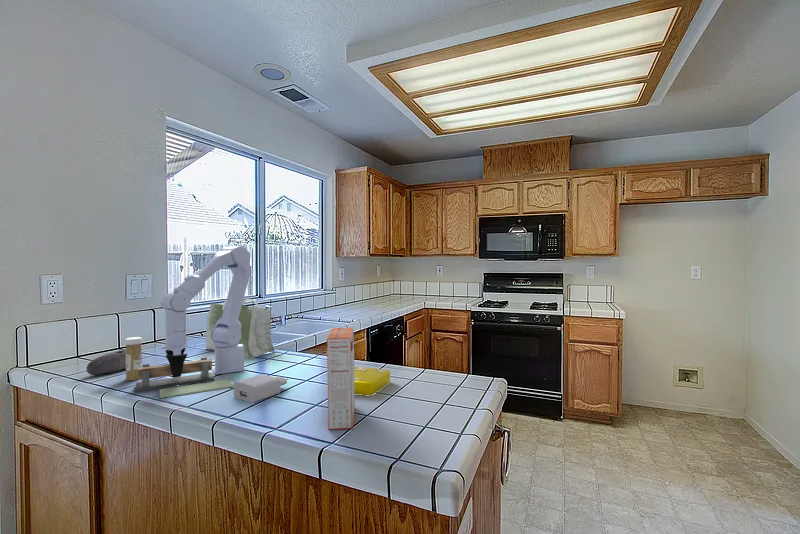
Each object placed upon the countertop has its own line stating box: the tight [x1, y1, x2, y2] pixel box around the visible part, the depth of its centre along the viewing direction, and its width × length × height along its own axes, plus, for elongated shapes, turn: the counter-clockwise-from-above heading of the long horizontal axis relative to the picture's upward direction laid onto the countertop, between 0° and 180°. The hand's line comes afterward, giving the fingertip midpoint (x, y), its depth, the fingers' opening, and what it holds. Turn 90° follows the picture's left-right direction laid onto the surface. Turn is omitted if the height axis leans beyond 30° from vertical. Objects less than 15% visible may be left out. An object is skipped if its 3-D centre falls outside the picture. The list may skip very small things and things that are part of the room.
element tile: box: [354, 365, 391, 395], centre depth 117 cm, size 15×15×5 cm
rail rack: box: [134, 356, 215, 393], centre depth 121 cm, size 21×7×6 cm, turn 123°
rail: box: [137, 358, 213, 381], centre depth 121 cm, size 20×3×3 cm, turn 123°
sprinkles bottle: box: [124, 336, 143, 382], centre depth 126 cm, size 5×5×14 cm
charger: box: [232, 373, 289, 403], centre depth 112 cm, size 5×9×15 cm
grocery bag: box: [205, 298, 276, 358], centre depth 168 cm, size 32×14×23 cm, turn 58°
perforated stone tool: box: [86, 349, 126, 376], centre depth 134 cm, size 15×5×7 cm, turn 155°
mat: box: [159, 379, 233, 399], centre depth 115 cm, size 19×8×1 cm, turn 123°
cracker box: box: [326, 327, 356, 431], centre depth 93 cm, size 14×6×21 cm, turn 5°
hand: (176, 373), depth 121 cm, fingers open, 7 cm apart
